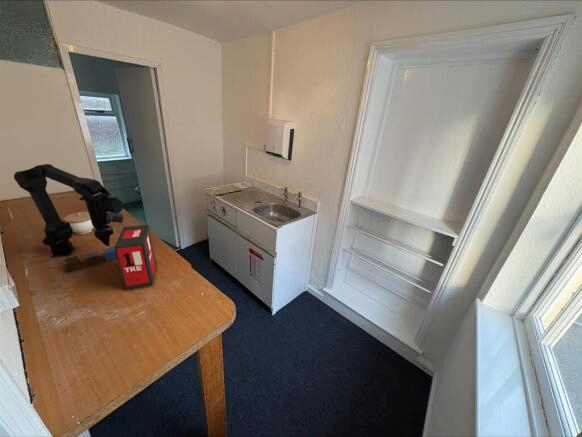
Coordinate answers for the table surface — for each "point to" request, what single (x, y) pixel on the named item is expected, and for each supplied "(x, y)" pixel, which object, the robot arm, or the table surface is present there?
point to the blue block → (110, 254)
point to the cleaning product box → (136, 256)
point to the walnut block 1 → (73, 263)
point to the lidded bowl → (79, 222)
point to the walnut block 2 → (92, 258)
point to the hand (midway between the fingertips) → (106, 241)
